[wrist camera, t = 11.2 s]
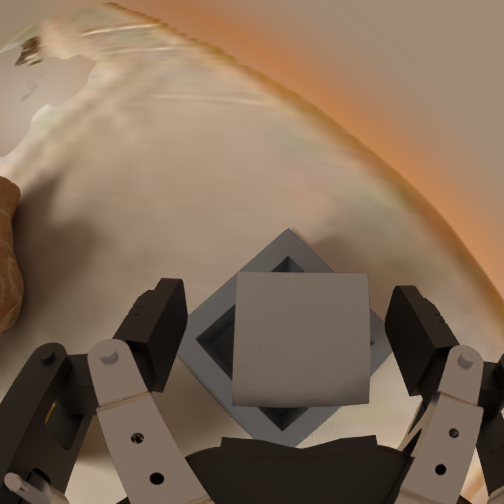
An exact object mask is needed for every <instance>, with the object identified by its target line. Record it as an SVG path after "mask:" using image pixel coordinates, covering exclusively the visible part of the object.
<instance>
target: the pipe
mask: <svg viewBox="0 0 504 504" xmlns="http://www.w3.org/2000/svg"><path fill="white" fill-rule="evenodd" d="M19 199H20V189H19V187H18V186H17V185H16V184H14V183H12V182H11V181H10V180H8V179H6V178H4V177H2V176H0V332H3V331H5V330H8V329H9V328H11V327H12V326H13V325H14V324H15V323H16V322H17V320H18V317H19V314H20V311H21V305H22V302H23V295H24V282H23V278H22V275H21V272H20V270H19V267H18V263H17V260H16V257H15V254H14V253H13V233H12V225H11V220H12V218H13V215H14V213H15V210H16V207H17V204H18V202H19Z"/></svg>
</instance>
